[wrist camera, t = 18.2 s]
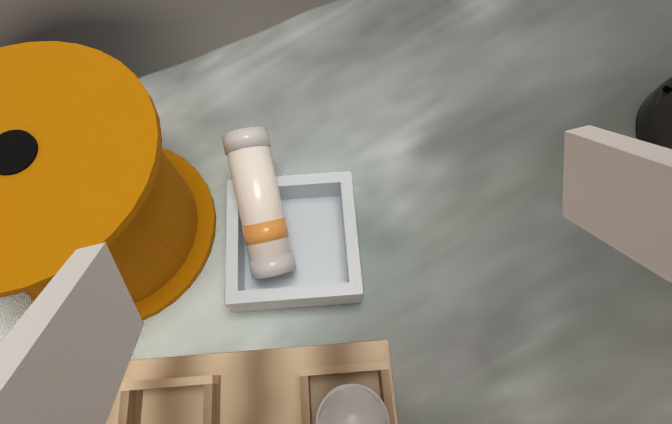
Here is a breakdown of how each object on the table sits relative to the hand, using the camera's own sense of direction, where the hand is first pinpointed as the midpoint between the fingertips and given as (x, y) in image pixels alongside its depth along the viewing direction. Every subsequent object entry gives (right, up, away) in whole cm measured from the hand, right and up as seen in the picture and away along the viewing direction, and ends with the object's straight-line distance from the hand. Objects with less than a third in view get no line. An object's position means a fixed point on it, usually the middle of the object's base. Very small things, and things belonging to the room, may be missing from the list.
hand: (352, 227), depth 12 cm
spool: (-21, -1, +29) cm, 36 cm away
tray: (-4, -3, +28) cm, 28 cm away
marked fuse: (-6, -5, +24) cm, 25 cm away
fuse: (0, -15, +21) cm, 26 cm away
